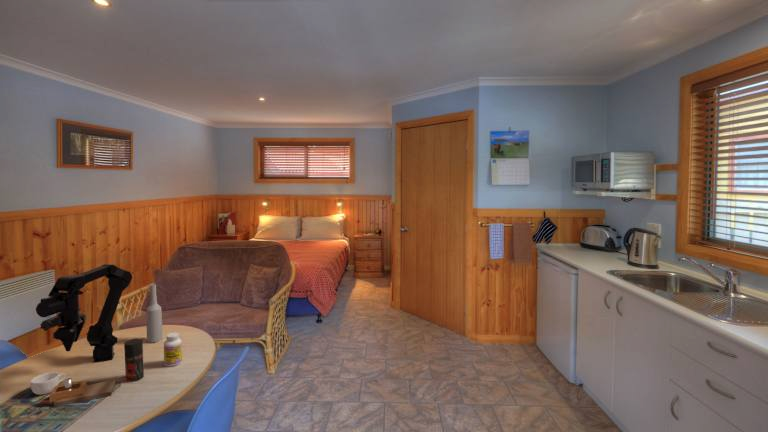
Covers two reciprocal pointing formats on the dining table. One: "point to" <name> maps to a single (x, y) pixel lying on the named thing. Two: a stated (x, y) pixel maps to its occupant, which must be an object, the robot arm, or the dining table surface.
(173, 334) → the supplement bottle
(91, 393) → the board
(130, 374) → the deodorant
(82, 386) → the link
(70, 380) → the keeper peg
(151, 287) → the bottle
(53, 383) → the teacup
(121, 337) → the dining table surface
